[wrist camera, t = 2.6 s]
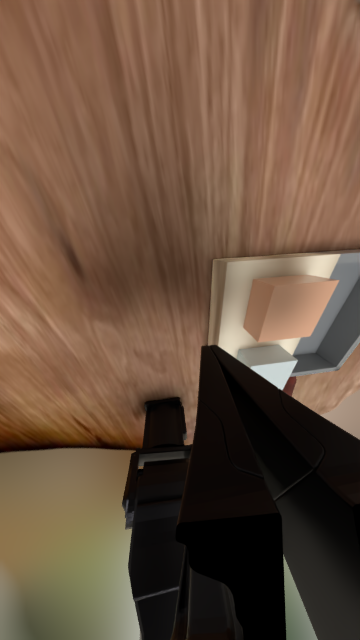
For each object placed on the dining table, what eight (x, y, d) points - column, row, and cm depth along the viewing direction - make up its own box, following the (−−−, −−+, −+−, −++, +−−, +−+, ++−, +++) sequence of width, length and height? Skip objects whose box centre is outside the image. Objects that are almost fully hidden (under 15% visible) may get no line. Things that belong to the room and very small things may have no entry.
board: (206, 367, 21) (213, 387, 18) (213, 259, 13) (227, 262, 10) (265, 360, 22) (281, 378, 19) (302, 253, 14) (341, 253, 11)
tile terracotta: (243, 327, 14) (258, 342, 12) (253, 278, 11) (274, 285, 9) (287, 322, 14) (310, 336, 12) (306, 274, 12) (339, 280, 9)
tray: (265, 360, 22) (281, 378, 19) (302, 253, 14) (341, 253, 11) (314, 353, 22) (338, 370, 19) (376, 247, 15) (431, 247, 12)
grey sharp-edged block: (232, 378, 18) (242, 396, 15) (238, 349, 15) (251, 366, 13) (267, 373, 18) (282, 390, 16) (279, 344, 15) (297, 360, 13)
